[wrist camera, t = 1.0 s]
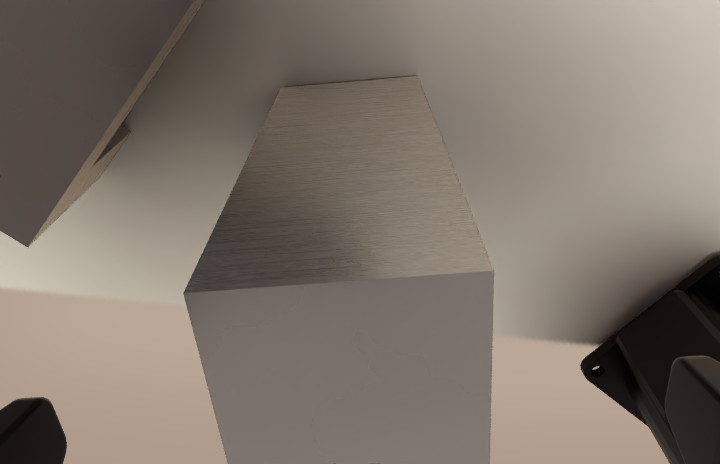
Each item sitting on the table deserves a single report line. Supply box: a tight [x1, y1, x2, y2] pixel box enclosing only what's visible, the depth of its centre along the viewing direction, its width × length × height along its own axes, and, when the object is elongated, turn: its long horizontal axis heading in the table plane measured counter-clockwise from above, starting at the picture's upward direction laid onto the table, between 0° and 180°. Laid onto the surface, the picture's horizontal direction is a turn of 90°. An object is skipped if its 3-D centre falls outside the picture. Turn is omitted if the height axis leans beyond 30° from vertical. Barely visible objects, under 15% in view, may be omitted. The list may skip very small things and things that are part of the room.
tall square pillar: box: [184, 76, 494, 464], centre depth 13 cm, size 4×4×11 cm
